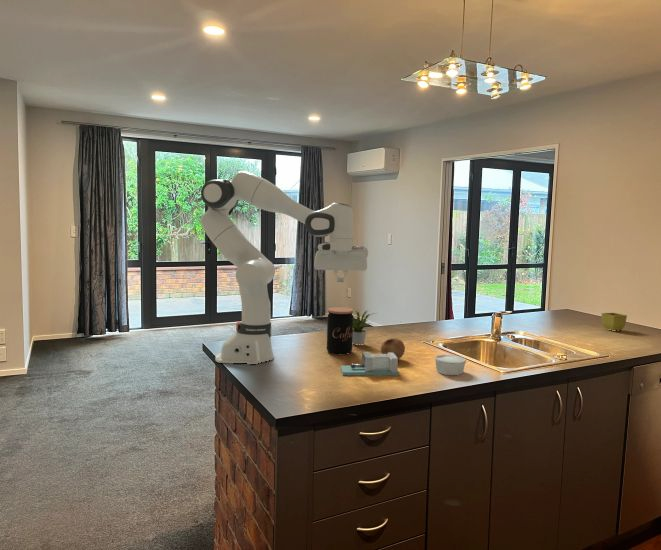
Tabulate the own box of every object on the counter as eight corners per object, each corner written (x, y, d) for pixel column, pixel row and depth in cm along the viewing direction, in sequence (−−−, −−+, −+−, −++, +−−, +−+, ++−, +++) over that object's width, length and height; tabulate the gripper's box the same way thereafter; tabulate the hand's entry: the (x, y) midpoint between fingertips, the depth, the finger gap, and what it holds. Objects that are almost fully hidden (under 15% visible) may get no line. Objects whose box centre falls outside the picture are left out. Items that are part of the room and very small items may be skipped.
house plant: (377, 341, 224) (378, 306, 223) (376, 348, 211) (378, 311, 209) (346, 339, 226) (347, 305, 224) (343, 347, 212) (344, 310, 210)
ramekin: (442, 366, 188) (443, 352, 187) (470, 372, 181) (471, 358, 180) (428, 372, 179) (429, 358, 179) (457, 379, 172) (457, 364, 172)
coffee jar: (330, 355, 198) (331, 312, 196) (323, 349, 208) (324, 307, 206) (355, 354, 201) (356, 311, 199) (347, 348, 211) (348, 306, 209)
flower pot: (599, 329, 265) (600, 312, 264) (612, 328, 267) (613, 312, 267) (613, 332, 256) (614, 315, 256) (626, 332, 259) (627, 315, 258)
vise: (342, 375, 173) (343, 358, 172) (340, 368, 180) (341, 352, 180) (398, 375, 174) (399, 358, 174) (393, 368, 182) (394, 352, 182)
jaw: (351, 371, 173) (352, 357, 172) (349, 365, 181) (349, 351, 180) (373, 371, 173) (374, 357, 173) (370, 365, 181) (370, 351, 181)
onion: (388, 369, 191) (383, 349, 187) (380, 357, 200) (374, 337, 195) (410, 360, 192) (405, 340, 188) (401, 348, 201) (396, 328, 196)
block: (372, 370, 175) (373, 356, 175) (370, 367, 179) (371, 353, 179) (389, 370, 176) (389, 356, 175) (387, 367, 180) (387, 353, 179)
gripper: (366, 246, 190) (365, 281, 191) (314, 244, 188) (313, 280, 189) (369, 246, 183) (368, 283, 185) (315, 245, 182) (314, 282, 183)
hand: (340, 281), depth 187 cm, fingers closed
